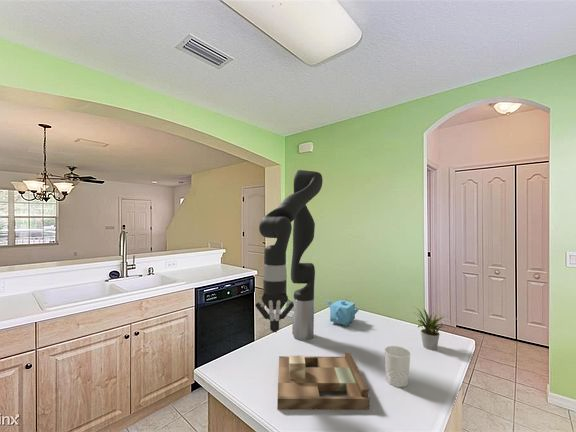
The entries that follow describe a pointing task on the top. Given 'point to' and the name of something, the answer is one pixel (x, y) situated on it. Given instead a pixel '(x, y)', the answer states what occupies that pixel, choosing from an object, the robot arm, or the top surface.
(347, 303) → the teapot
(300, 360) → the birch block
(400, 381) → the white cup
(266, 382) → the top surface
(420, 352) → the top surface
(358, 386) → the box
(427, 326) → the house plant
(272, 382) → the top surface
